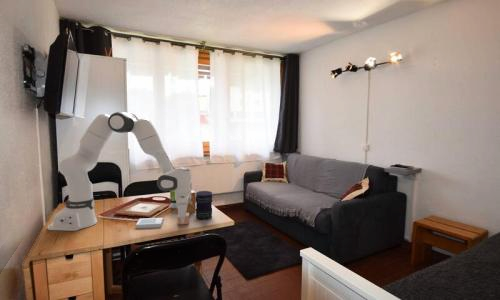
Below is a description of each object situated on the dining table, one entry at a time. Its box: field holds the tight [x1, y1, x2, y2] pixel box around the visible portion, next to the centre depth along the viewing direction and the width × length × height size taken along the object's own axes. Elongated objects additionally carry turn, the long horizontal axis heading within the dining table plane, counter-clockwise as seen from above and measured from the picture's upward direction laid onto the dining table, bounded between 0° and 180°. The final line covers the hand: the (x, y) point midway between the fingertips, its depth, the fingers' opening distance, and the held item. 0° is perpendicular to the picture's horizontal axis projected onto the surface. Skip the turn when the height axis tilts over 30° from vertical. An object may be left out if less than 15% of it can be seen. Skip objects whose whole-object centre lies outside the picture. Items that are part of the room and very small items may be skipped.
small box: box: [186, 189, 196, 214], centre depth 171 cm, size 8×6×13 cm
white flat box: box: [135, 217, 164, 229], centre depth 150 cm, size 13×9×2 cm
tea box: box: [169, 181, 193, 209], centre depth 184 cm, size 15×10×15 cm, turn 172°
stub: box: [177, 213, 190, 225], centre depth 153 cm, size 6×5×5 cm
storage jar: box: [195, 190, 213, 221], centre depth 162 cm, size 10×10×15 cm
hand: (183, 219), depth 153 cm, fingers open, 8 cm apart
